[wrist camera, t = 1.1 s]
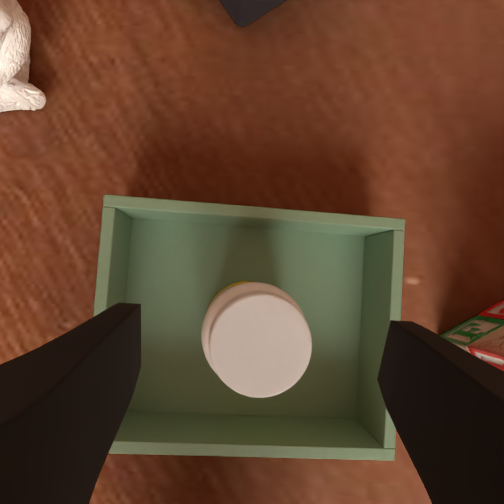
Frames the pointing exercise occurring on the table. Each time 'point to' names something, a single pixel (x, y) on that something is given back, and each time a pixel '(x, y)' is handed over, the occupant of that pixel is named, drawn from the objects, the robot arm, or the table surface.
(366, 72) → the table surface
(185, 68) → the table surface
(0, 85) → the koala figurine
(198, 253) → the box
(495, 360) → the stack of blocks
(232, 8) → the calculator
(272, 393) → the supplement bottle
